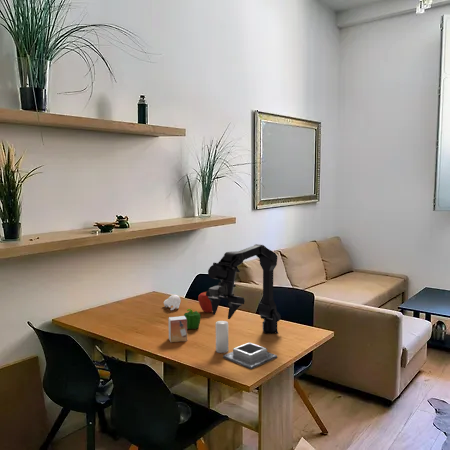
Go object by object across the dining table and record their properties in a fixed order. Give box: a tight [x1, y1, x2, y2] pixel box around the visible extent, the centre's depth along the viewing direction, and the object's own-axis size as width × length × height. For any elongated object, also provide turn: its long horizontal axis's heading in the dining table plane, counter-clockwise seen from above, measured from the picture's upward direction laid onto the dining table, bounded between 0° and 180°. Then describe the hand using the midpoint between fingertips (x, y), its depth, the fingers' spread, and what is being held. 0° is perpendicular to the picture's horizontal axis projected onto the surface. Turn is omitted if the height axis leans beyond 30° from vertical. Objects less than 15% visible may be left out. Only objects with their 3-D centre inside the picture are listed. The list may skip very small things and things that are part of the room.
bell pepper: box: [183, 308, 202, 330], centre depth 221 cm, size 8×8×10 cm
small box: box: [168, 315, 188, 343], centre depth 204 cm, size 8×6×10 cm
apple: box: [197, 291, 213, 314], centre depth 247 cm, size 11×11×12 cm
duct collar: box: [222, 342, 278, 370], centre depth 183 cm, size 16×16×4 cm
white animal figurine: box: [163, 294, 182, 311], centre depth 255 cm, size 6×8×12 cm
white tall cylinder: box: [215, 320, 229, 354], centre depth 190 cm, size 6×6×12 cm
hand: (221, 316), depth 189 cm, fingers open, 9 cm apart
